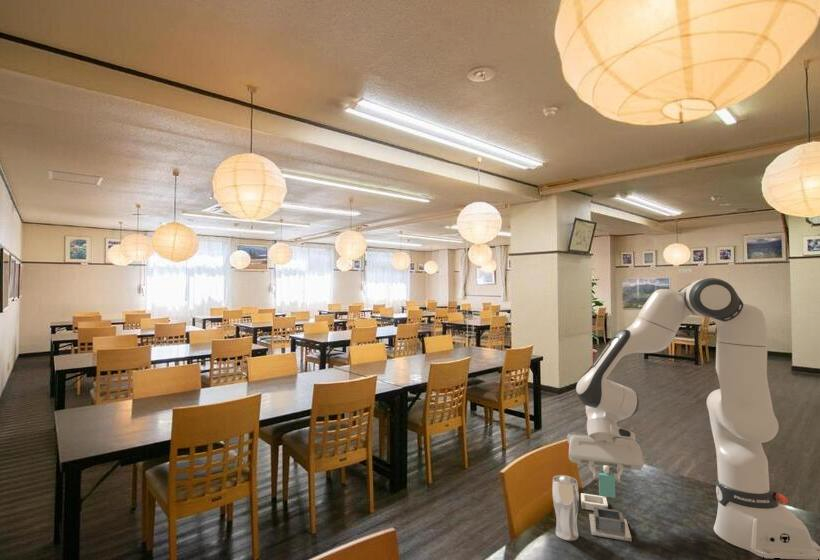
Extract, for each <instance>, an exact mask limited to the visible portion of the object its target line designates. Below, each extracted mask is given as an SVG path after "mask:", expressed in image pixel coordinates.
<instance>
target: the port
mask: <svg viewBox="0 0 820 560" xmlns="http://www.w3.org/2000/svg"><path fill="white" fill-rule="evenodd" d="M623 514H624V513H623V510H617V509H610V508H608V509H605V508H598V507H594V511H593V513H588V518H589V526H590V533H591V535H590V536H595V537H601V538H602V537H603V538H608V539H615V540H619V541H625V542H631V543H632V535H631V531H630V529H629V525H628V522H627V519H626V518H624V515H623Z"/></svg>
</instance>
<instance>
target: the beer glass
mask: <svg viewBox="0 0 820 560" xmlns="http://www.w3.org/2000/svg"><path fill="white" fill-rule="evenodd" d="M551 489H552V494H551V495H552V501H553V503H552V504H553V508H554V513H555V517H556V518H555V519H556V523H555V524H556V525H555V535H556V536H557V537H558V538H559V539H561V540H565V541H567V542H570V541H571V542H572V541H576V540H578V539H579V535H580V534H579V531H578V530H579V529H578V525H577V524H578V523H577V521H578V519H577V518H578V512H579V503H580V501H579V500H580V499H579V496H580V495H579V493H580V492H579V486H578V480H577V479H576V478H575V477H572V476H569V475H565V474H558V475H554V476H553V477H552V488H551Z"/></svg>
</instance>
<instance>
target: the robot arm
mask: <svg viewBox="0 0 820 560" xmlns="http://www.w3.org/2000/svg"><path fill="white" fill-rule="evenodd" d="M689 316H697V317H703V318H710V319H712V320H713V322H714V323H715V326H716V331H717V332H716V348H715V372H716V374H717V377H718V383H719V388H718V389H715V390H713V391H711V392H710V393H709V394H708V396H707V397H706V407H707V411H708V416H709V423H710V428H711V433H712V437H713V442H714V447H715V453H716V465H717V466H716V467H717V468H716V470H717V478H716V479H715V481H716V485H715V486H716V487H715V492H716V500H717V512H716V513H717V514H716V516H715V517H716V519H715V522H714V525H713V531H714V533H715V534H716V535H717V536H718V537H719V538H720V539H722V540H723V541H725V542H727V543H729V544H731V545H733V546H736V547H738V548H740V549H743V550H746V551H749V552H750V553H752V554H754V555H756V556H758V557H760V558H763V557H764V559H774V558H780V559H781V560H785V559H786V560H818V559H819V560H820V545H819V544H818V543H817V542H816V541H814V540H813V539H812V537H811V534H810V532H809V529H808V528H807V526H806V525H805V524H804V522H802V521H801V519H799V518H798V517H797V516H795V515H794V514H793V513H792V512H791V511H789V510H788V509H787V508H785V507H784V506H782V505H787V504H788V503H789V499H788V498H787V497H786V496H784V495H783V494H781V493H778V492H777V491H776V490H775V489H773V488H771V487H770V478H769V477H770V475H769V461H768V457H767V455H766V453H765V450H764V448H763V444H762V443H768V442H769V441H772V440H773V439H775V437H776V435H778V433H779V428H780V427H779V422H778V418H777V417H776V414H775V412H774V409H773V408H774V407H773V403H772V397H771V392H770V388H769V382H768V381H769V380H768V373H767V372H768V330H767V323H766V318H765V314H764V311H762V310H761V309H760V308H759V307H756V306H755V305H752V304H748V303H747V304H746V303H744V302H743V300H742V299H741V298H740V296H739V295H738V293H737V292H736V290H735V288H734V287H733V286H732V285H731V284H730V283H729V282H727V281H725V280H723V279H720V278H715V277H709V278H701V279H697V280H695V281H693V282H691V283H689V284H687V285H685V286H684V287H682V288H681V289H680V290H676V291H675V290H673V289H670V288H659V289H657V290H655V291H654V292H652V293H651V295H650V296H649V297H648V299H647V300H646V301H645V303H644V305H642V308H641V309H640V311H639V313H638V315H637V316H636V318H635V320H634V321H633V322H632V324H631V325H630V326H628V327H627V328H625V329H621V330H619V331H617V332H616V333H615V334H614V335H612V337H611V339H609V341H608V343H606V345H605V347H604V348H603V349H602V350H601V352H600V354H599V355H597V358H596V359H595V360H594V361H593V363H592V365H591V366H590V367H589V368H588V370H587V371H586V372H585V373H584V374H583V375H582V376H581V377H580V378H579V379H578V381H577V383H576V386H575V393H576V396H577V398H578V400H579V402H580V403H581V404H582V405H583V406H585V414H586V417H587V421H586V432H576V431H572V432H569V433H568V434H567V436H566V442H567V444H568V446H569V447H568V459H569V460H570V462H571V463H576V464H585V465H588V468H589V470H590V471H591V473H592V474H593V476H592V477H593V480H597V481H599V471H600V470H599V471H597V470H596V469H595V466H601V467H603V466H604V465H607V466H609V468H616V471H617V473H616V472H615V473H614V476H615V483H621V476H622V474H623V472H624V469H626V470H634V471H641V470H642V469H643V468H644V465H645V460H644V455H643V452H642V449H641V447H640V444H638V442H637V441H636V434H635V432H633V430H632V431H631V430H629V429H626V428H623V427H620V426H618V423H617V422H618V421H619V422H620V421H621V422H622V421H624V420H627V419H629V418H632V417H634V416H635V415H636V414H637V413H638V411H639V408H640V399H639V396H638V394H637V392H636V391H635V390H634V389H632V388H630V387H628V386H626V385H623V384H620V383H617V382H615V381H612V380H611V379H607V378H608V376H610V374H611V372H612V370H614V368H615V366H616V365H617V364H618V363H619V361H620V360H621V358H623V357H624V356H627V355H630V354H640V353H641V354H654V353H659V352H662V351H664V350H666V349H667V348H669V347H670V345H671V344H672V342H673V341H674V338H675V337H676V335H677V333H678V331H679V329H680V327H681V324H682V323H683V321H684V320H686V319H687V318H688V317H689ZM780 559H779V560H780Z"/></svg>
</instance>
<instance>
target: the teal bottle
mask: <svg viewBox="0 0 820 560" xmlns="http://www.w3.org/2000/svg"><path fill="white" fill-rule="evenodd" d="M602 469H603V470H598V471H599V480H598V493H599V494H598V495H599V496H604V497H606V498H610V499H616V482H615V476H614V471H610V467H609V466H607V465H604V466H602Z"/></svg>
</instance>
